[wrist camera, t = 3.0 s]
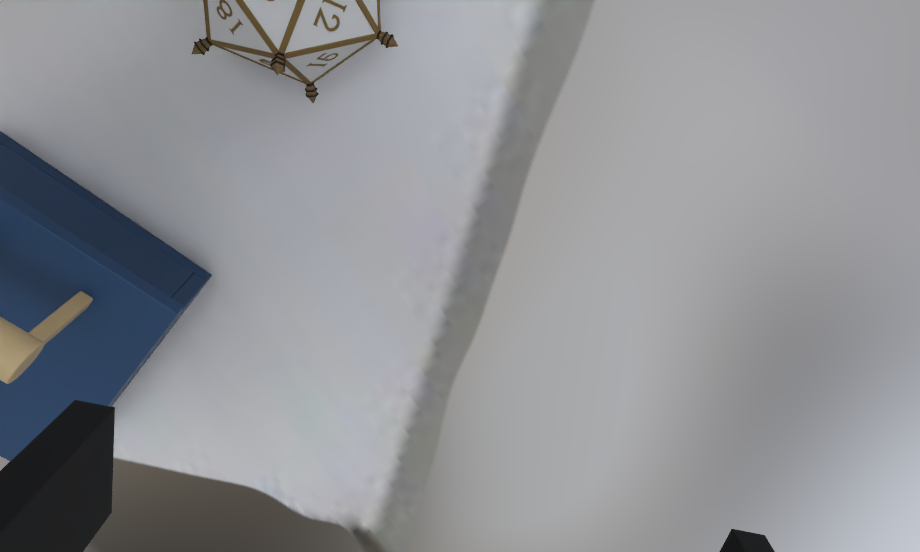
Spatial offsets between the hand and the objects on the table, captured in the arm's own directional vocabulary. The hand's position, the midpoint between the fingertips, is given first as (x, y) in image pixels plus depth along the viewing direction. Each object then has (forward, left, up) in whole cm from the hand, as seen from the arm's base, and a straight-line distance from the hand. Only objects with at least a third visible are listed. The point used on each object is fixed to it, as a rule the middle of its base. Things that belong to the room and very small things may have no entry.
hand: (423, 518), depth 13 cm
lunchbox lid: (-13, -19, -17) cm, 29 cm away
